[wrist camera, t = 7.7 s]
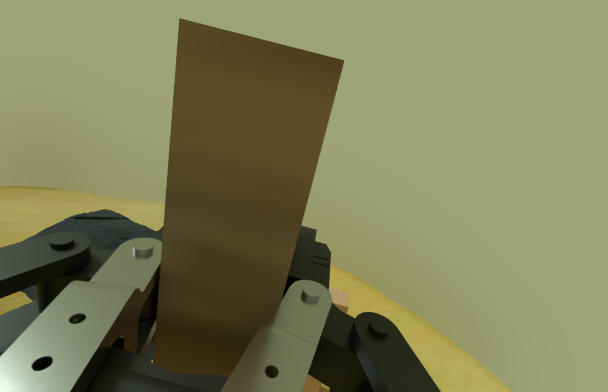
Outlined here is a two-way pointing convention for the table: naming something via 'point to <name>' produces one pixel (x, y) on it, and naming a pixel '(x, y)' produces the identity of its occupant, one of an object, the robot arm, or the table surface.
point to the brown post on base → (235, 189)
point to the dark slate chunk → (100, 239)
